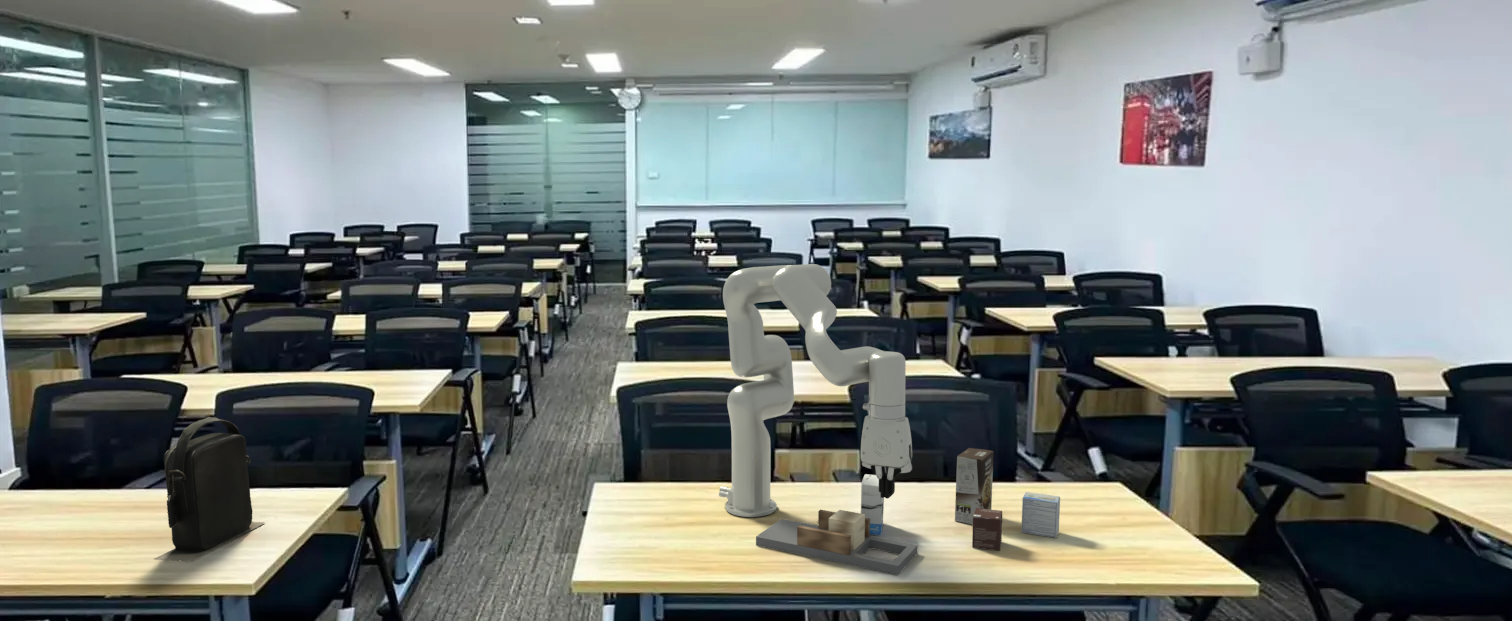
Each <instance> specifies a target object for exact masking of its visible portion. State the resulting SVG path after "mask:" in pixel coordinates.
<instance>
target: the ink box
mask: <svg viewBox="0 0 1512 621" xmlns="http://www.w3.org/2000/svg"><path fill="white" fill-rule="evenodd" d="M860 492H861V493H860V495H861V496H860V498H861V500H860V514H865V518H869V519H870V536H881V535H882V532H883V525H884V512H885V511H884V510H885V509H884V506H885V504H884V503H885V497H884V498H881V492H879V479H878V478H877V476H876V474H867V473H865V474H864V476H863V478H862V481H861V491H860Z"/></svg>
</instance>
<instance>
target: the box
mask: <svg viewBox="0 0 1512 621" xmlns="http://www.w3.org/2000/svg"><path fill="white" fill-rule="evenodd" d="M1002 530H1003V510H998V509H991V510H990V509H981V508H976V509H975V512H974V515H973V524H972V534H971V535H972V537H971V538H972V541H971V544H972V545H971V547H972V548H973V549H980V548H981V550H991V551H998V552H999V551H1001V546H1002Z"/></svg>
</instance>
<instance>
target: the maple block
mask: <svg viewBox="0 0 1512 621" xmlns="http://www.w3.org/2000/svg"><path fill="white" fill-rule="evenodd" d="M829 531H831V532H836V533H841V534H847V535H851V550H855V549H856V548H857V547H858V546H859V545H860V544H861V543H863V542H864V541H865V514H861V512H855V511H848V510H842V509H838V510H837V511H836V513H835V514H834V515H832V516H831V517H830V518H829Z"/></svg>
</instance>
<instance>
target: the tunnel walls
mask: <svg viewBox="0 0 1512 621" xmlns="http://www.w3.org/2000/svg"><path fill="white" fill-rule="evenodd" d="M836 512H837V511H836ZM836 512H835V511H831V510H825V509H819V510H818V513H817V514H818V520H817V522H818V524H817V526H818V528H821V529H826V530H829V518H830V517H831V516H832V515H834V514H835V513H836ZM821 529H816V528H811V527H805V526H800V525H799V526H798V527H797V545H801V546H806V547H811V548H816V549H820V550H825V551H830V552H835V553H840V554H845V555H849V554H851V535H847V534H841V533H836V532H831V531H826V530H821ZM869 536H871V535H870V519H869V518H865V537H867V538H868V537H869Z"/></svg>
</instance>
